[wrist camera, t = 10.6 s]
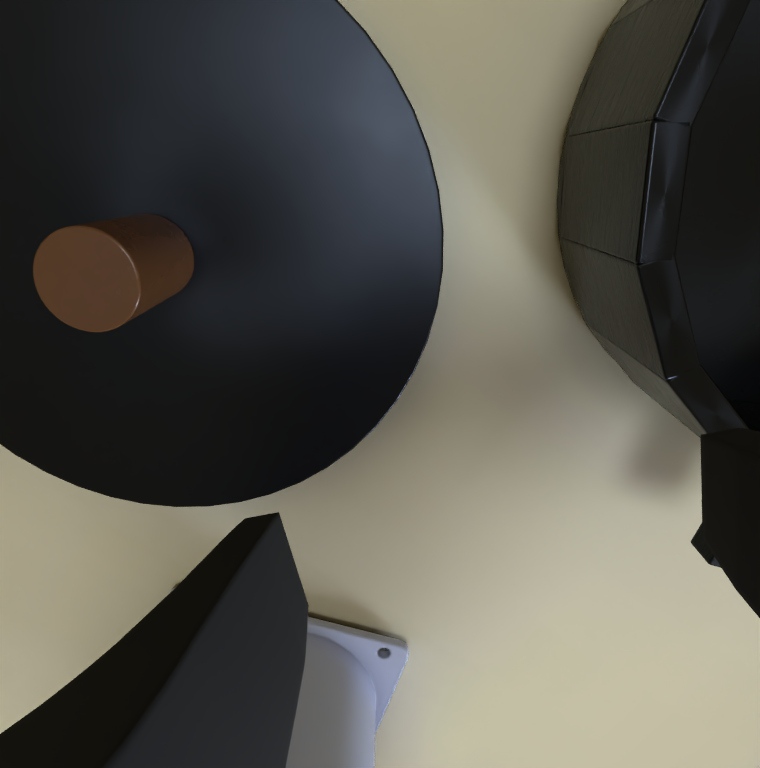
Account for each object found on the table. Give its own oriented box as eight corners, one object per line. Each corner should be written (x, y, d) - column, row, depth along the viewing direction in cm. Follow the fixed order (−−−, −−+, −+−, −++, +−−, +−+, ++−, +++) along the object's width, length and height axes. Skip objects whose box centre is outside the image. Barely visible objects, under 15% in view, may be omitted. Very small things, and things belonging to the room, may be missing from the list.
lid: (-123, 415, 20) (-287, 493, 15) (-113, -189, 14) (-371, -378, 9) (350, 541, 21) (341, 649, 16) (526, 48, 16) (589, -7, 11)
